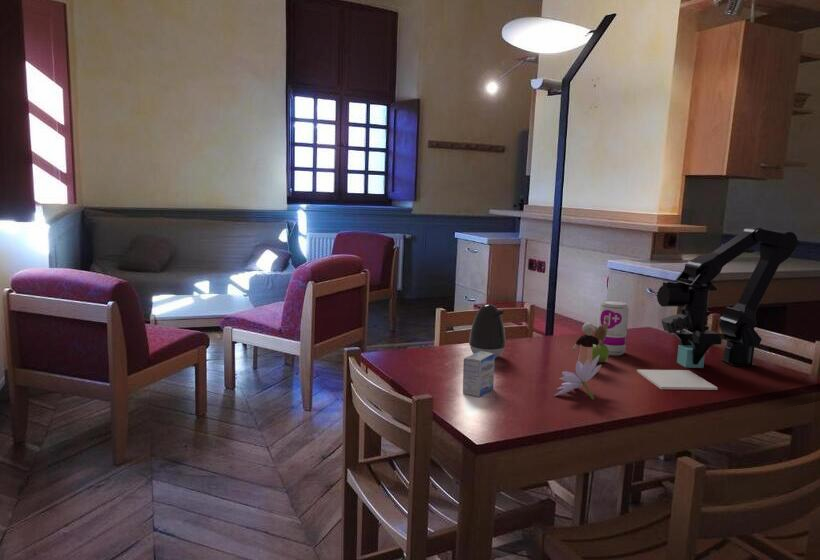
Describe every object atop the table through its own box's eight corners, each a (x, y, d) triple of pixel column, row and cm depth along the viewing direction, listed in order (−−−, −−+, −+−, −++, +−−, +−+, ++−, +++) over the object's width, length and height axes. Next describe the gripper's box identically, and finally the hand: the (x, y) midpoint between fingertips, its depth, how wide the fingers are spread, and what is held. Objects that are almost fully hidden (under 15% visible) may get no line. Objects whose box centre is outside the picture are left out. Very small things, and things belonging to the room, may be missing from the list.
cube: (694, 362, 169) (695, 345, 168) (703, 367, 164) (705, 350, 163) (676, 362, 169) (678, 345, 168) (685, 367, 164) (687, 349, 163)
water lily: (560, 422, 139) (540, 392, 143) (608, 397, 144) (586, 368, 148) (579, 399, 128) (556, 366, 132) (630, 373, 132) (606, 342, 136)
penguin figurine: (487, 364, 161) (490, 309, 159) (461, 355, 169) (463, 302, 167) (513, 358, 168) (515, 305, 166) (486, 350, 176) (488, 299, 174)
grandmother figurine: (578, 372, 157) (582, 324, 155) (569, 368, 160) (572, 321, 158) (602, 369, 160) (606, 323, 158) (593, 365, 163) (596, 320, 161)
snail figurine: (613, 361, 168) (616, 319, 166) (602, 366, 163) (606, 323, 161) (595, 357, 171) (598, 316, 169) (584, 361, 167) (587, 319, 165)
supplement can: (619, 357, 172) (623, 306, 169) (591, 352, 176) (595, 302, 174) (628, 352, 178) (632, 302, 176) (601, 347, 183) (605, 299, 181)
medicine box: (479, 398, 135) (481, 360, 134) (461, 394, 138) (463, 357, 136) (493, 388, 142) (495, 353, 141) (476, 385, 144) (478, 350, 143)
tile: (688, 372, 159) (688, 370, 159) (717, 389, 145) (717, 387, 145) (636, 371, 158) (637, 369, 158) (660, 389, 145) (661, 386, 145)
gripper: (652, 299, 173) (647, 351, 175) (683, 312, 154) (678, 371, 156) (689, 300, 173) (684, 352, 175) (726, 313, 155) (719, 371, 157)
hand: (690, 361), depth 166 cm, fingers closed on cube, 5 cm apart
